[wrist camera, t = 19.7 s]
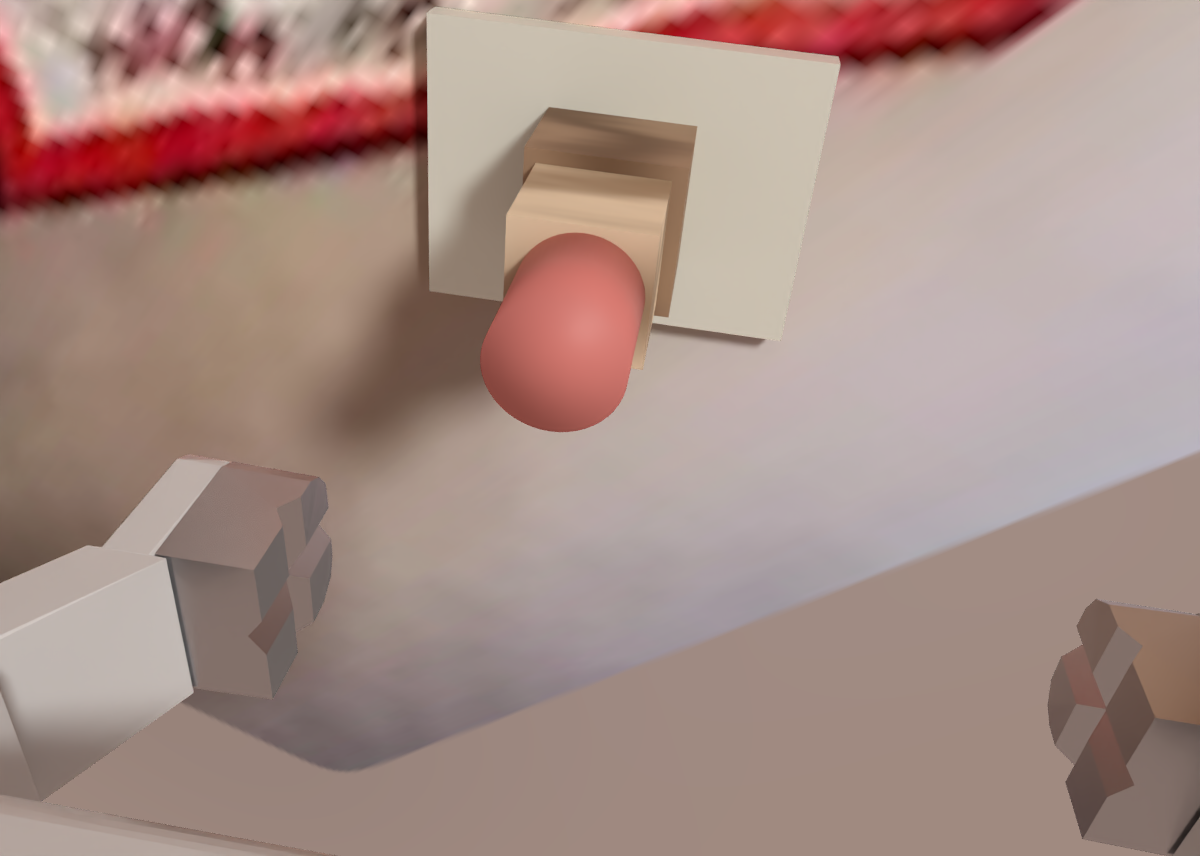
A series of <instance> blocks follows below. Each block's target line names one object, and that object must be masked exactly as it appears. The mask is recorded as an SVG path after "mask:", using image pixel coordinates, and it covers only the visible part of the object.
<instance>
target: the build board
mask: <svg viewBox="0 0 1200 856" xmlns="http://www.w3.org/2000/svg"><path fill="white" fill-rule="evenodd" d="M839 69H840V61H839V57H837V56H829V55H821V54H813V53H805V52H797V51H789V50H781V49H773V48H765V47H757V46H748V45H740V44H732V43H724V42H716V41H708V40H700V39H692V38H684V37H676V36H668V35H660V34H652V33H644V32H636V31H628V30H619V29H611V28H603V27H595V26H587V25H579V24H571V23H563V22H555V21H547V20H539V19H531V18H523V17H515V16H507V15H499V14H491V13H482V12H474V11H466V10H458V9H450V8H442V7H434V8H432V9H431V10H430V11H429V12H427V104H428V204H429V291H432V292H439V293H446V294H453V295H460V296H467V297H474V298H481V299H488V300H495V301H503V291H504V264H505V237H506V214H507V213H508V211H509V209H510V207H511V206H512V204H513V202H514V200H515V199H516V197H517V195H518V193H519V191H520V190H521V188H522V185H523V163H524V146H525V145H526V143H527V142H528V140H529V138H530V137H531V135H532V134H533V132H534V130H535V129H536V127H537V125H538V124H539V122H540V121H541V119H542V117H543V116H544V114H545V113H546V111H547V109H548V108H549V107H553V108H561V109H569V110H576V111H584V112H592V113H599V114H607V115H615V116H622V117H630V118H638V119H646V120H653V121H661V122H669V123H676V124H684V125H692V126H697V133H696V140H695V147H694V154H693V161H692V168H691V175H690V182H689V189H688V196H687V203H686V210H685V217H684V224H683V231H682V238H681V245H680V252H679V259H678V266H677V272H676V277H675V283H674V289H673V295H672V300H671V306H670V312H669V318H668V317H661V316H653V321H652V323H656V324H663V325H670V326H677V327H684V328H691V329H698V330H705V331H712V332H719V333H726V334H733V335H740V336H747V337H754V338H761V339H768V340H775V341H781V338H782V333H783V328H784V324H785V319H786V315H787V310H788V305H789V301H790V296H791V291H792V287H793V282H794V277H795V273H796V268H797V264H798V259H799V254H800V250H801V245H802V240H803V236H804V231H805V226H806V222H807V217H808V213H809V208H810V203H811V199H812V194H813V189H814V185H815V180H816V175H817V171H818V166H819V162H820V157H821V152H822V148H823V143H824V138H825V134H826V129H827V124H828V120H829V115H830V111H831V106H832V101H833V97H834V92H835V87H836V83H837V78H838V73H839Z"/></svg>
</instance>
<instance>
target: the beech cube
mask: <svg viewBox="0 0 1200 856" xmlns="http://www.w3.org/2000/svg"><path fill="white" fill-rule="evenodd" d="M671 187H672V181H667V180H659V179H652V178H644V177H637V176H629V175H622V174H614V173H607V172H599V171H592V170H585V169H577V168H570V167H562V166H555V165H547V164H540V163H535V165H534V167H533V168H532V170H531V172H530V174H529V176H528V177H527V179H526V181H525V183H524V184H523V186H522V188H521V190H520V191H519V193H518V195H517V197H516V199H515V200H514V202H513V204H512V206H511V207H510V209H509V211H508V213H507V214H506V237H505V264H504V291H503V299H504V297H505V295H506V293H507V291H508V289H509V287H510V285H511V283H512V281H513V279H514V277H515V275H516V272H517V270H518V268H519V266H520V264H521V262H522V261H523V259H524V258H525V256H526V255H527V254H528V253H529V251H530V250H531V249H532V248H534V247H535V246H536V245H537V244H539V243H540V242H542V241H543V240H546V239H548V238H550V237H552V236H556V235H559V234H564V233H586V234H591V235H595V236H598V237H601V238H604V239H606V240H608V241H610V242H612V243H613V244H615V245H616V246H618V247H619V248H620V249H622V250H623V251H624V252H625V253H626V254H627V255H628V256H629V257H630V258H631V259H632V261H633V262H634V263H635V265H636V267H637V268H638V270H639V272H640V274H641V277H642V280H643V283H644V288H645V306H644V311H643V315H642V320H641V324H640V329H639V333H638V338H637V342H636V347H635V351H634V356H633V360H632V365H631V368H633V369H640V370H643V366H644V361H645V356H646V351H647V346H648V341H649V336H650V331H651V326H652V321H653V316H654V311H655V306H656V300H657V292H658V285H659V277H660V270H661V262H662V254H663V247H664V239H665V232H666V224H667V217H668V209H669V202H670V194H671Z"/></svg>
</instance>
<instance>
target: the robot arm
mask: <svg viewBox="0 0 1200 856" xmlns="http://www.w3.org/2000/svg"><path fill="white" fill-rule="evenodd" d="M327 509H328V500H327V492H326V484H325V482H323V481H322V480H321V479H320V478H319V477H316V476H311V475H305V474H300V473H294V472H288V471H283V470H277V469H272V468H266V467H261V466H255V465H250V464H244V463H238V462H228V461H224V460H218V459H212V458H206V457H201V456H195V455H186V456H183V457H181V458H178V459H177V460H175V461H174V462H173V464H172V465H171V466H170V467H169V468H168V470H167V471H166V472H165V473H164V474H163V475H162V477H161V478H160V479H159V480H158V481H157V482H156V484H155V485H154V486H153V487H152V488H151V490H150V491H149V492H148V493H147V494H146V495H145V497H144V498H143V499H142V500H141V501H140V502H139V504H138V505H137V506H136V507H135V508H134V509H133V511H132V512H131V513H130V514H129V515H128V517H127V518H126V519H125V520H124V521H123V522H122V524H121V525H120V526H119V527H118V528H117V529H116V531H115V532H114V533H113V534H112V535H111V537H110V538H109V539H108V540H107V541H106V542H105V544H104V545H103V546H102V547H96V546H89V545H87V546H85V547H83V548H80V549H78V550H76V551H73V552H71V553H69V554H66V555H64V556H62V557H59V558H57V559H55V560H53V561H50V562H48V563H46V564H43V565H41V566H39V567H36V568H34V569H32V570H30V571H27V572H25V573H23V574H20V575H18V576H16V577H13V578H11V579H9V580H7V581H4V582H2V583H0V856H336V855H331V854H325V853H320V852H314V851H309V850H303V849H297V848H292V847H287V846H281V845H276V844H270V843H265V842H259V841H254V840H248V839H243V838H237V837H231V836H226V835H221V834H215V833H209V832H204V831H199V830H193V829H188V828H182V827H176V826H171V825H166V824H160V823H155V822H149V821H144V820H138V819H132V818H127V817H122V816H116V815H111V814H105V813H99V812H94V811H89V810H82V809H78V808H72V807H67V806H61V805H55V804H50V803H44V802H41V801H43V800H44V799H46V798H47V797H48V796H50V795H51V794H53V793H54V792H55V791H57V790H58V789H60V788H61V787H62V786H64V785H65V784H67V783H68V782H69V781H71V780H72V779H74V778H75V777H76V776H78V775H79V774H81V773H82V772H83V771H85V770H86V769H88V768H89V767H90V766H92V765H93V764H95V763H96V762H97V761H99V760H100V759H102V758H103V757H104V756H106V755H107V754H109V753H110V752H111V751H113V750H114V749H116V748H117V747H118V746H120V745H121V744H122V743H124V742H125V741H127V740H128V739H129V738H131V737H132V736H134V735H135V734H136V733H138V732H139V731H141V730H142V729H143V728H145V727H146V726H148V725H149V724H150V723H152V722H153V721H155V720H156V719H157V718H159V717H160V716H162V715H163V714H165V713H166V712H167V711H169V710H170V709H172V708H173V707H174V706H176V705H177V704H179V703H180V702H181V701H183V700H184V699H186V698H187V697H188V696H190V695H191V694H193V692H194V690H193V688H196V689H203V690H210V691H217V692H224V693H231V694H238V695H245V696H252V697H258V698H265V699H272V700H273V698H274V696H275V694H276V692H277V691H278V689H279V687H280V685H281V683H282V681H283V679H284V677H285V676H286V674H287V672H288V670H289V668H290V666H291V664H292V662H293V661H294V659H295V657H296V655H297V653H298V650H297V640H296V632H298V631H299V630H301V629H303V628H304V627H306V626H308V625H310V624H311V623H313V622H314V621H315V619H316V617H317V615H318V613H319V611H320V608H321V606H322V604H323V602H324V599H325V595H326V592H327V588H328V585H329V581H330V577H331V567H332V544H331V538H330V537H329V536H328V535H327V534H326V532H325V531H324V530H323V529H322V528H321V526H320V525H319V523H320V521H321V520H322V518H323V516H324V514H325V513H326V511H327ZM1077 629H1078V632H1079V635H1080V638H1081V641H1082V644H1083V645H1081V646H1079V647H1077V648H1076V649H1074V650H1072V651H1070V652H1069V653H1067V654H1065V655H1063V656H1062V657H1061V659H1060V661H1059V663H1058V666H1057V668H1056V670H1055V672H1054V675H1053V677H1052V679H1051V685H1050V692H1049V699H1048V714H1049V725H1050V729H1051V733H1052V736H1053V740H1054V744H1055V746H1056V747H1057V748H1058V749H1059V750H1060V751H1061V752H1062V753H1063V754H1064V755H1065V756H1066V757H1067V758H1068V759H1069V760H1070V761H1071V762H1072V763H1073V764H1074V767H1073V769H1072V771H1071V773H1070V775H1069V776H1068V778H1067V780H1066V785H1067V789H1068V792H1069V795H1070V799H1071V802H1072V805H1073V809H1074V812H1075V815H1076V819H1077V822H1078V826H1079V829H1080V832H1081V836H1082V839H1085V840H1090V841H1095V842H1100V843H1105V844H1110V845H1115V846H1120V847H1125V848H1130V849H1135V850H1140V851H1145V852H1150V853H1155V854H1160V855H1166V856H1200V613H1198V614H1191V613H1185V612H1179V611H1172V610H1165V609H1159V608H1152V607H1146V606H1139V605H1132V604H1125V603H1119V602H1112V601H1106V600H1099V599H1096V600H1094V601H1093V602H1092V603H1091V604H1090V605H1089V606H1088V607H1087V608H1086V609H1085V611H1084V613H1083V615H1082V617H1081V619H1080V621H1079V622H1078V624H1077Z"/></svg>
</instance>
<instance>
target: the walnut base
mask: <svg viewBox="0 0 1200 856" xmlns="http://www.w3.org/2000/svg"><path fill="white" fill-rule="evenodd" d="M696 133H697V126H692V125H684V124H676V123H669V122H661V121H653V120H646V119H638V118H630V117H622V116H615V115H607V114H599V113H592V112H584V111H576V110H569V109H561V108H553V107H549V108H548V109H547V111H546V113H545V114H544V116H543V117H542V119H541V121H540V122H539V124H538V125H537V127H536V129H535V130H534V132H533V134H532V135H531V137H530V138H529V140H528V142H527V143H526V145H525V146H524V163H523V184H524V183H525V181H526V179H527V177H528V176H529V174H530V172H531V170H532V168H533V167H534V165H535V163H540V164H547V165H555V166H562V167H570V168H577V169H585V170H592V171H599V172H607V173H614V174H622V175H629V176H637V177H644V178H652V179H659V180H667V181H672V187H671V194H670V202H669V209H668V217H667V224H666V232H665V239H664V247H663V254H662V262H661V270H660V277H659V285H658V292H657V300H656V306H655V311H654V316H661V317H668V318H669V312H670V306H671V300H672V295H673V289H674V283H675V277H676V272H677V266H678V259H679V252H680V245H681V238H682V231H683V224H684V217H685V210H686V203H687V196H688V189H689V182H690V175H691V168H692V161H693V154H694V147H695V140H696ZM522 186H523V185H522Z"/></svg>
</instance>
